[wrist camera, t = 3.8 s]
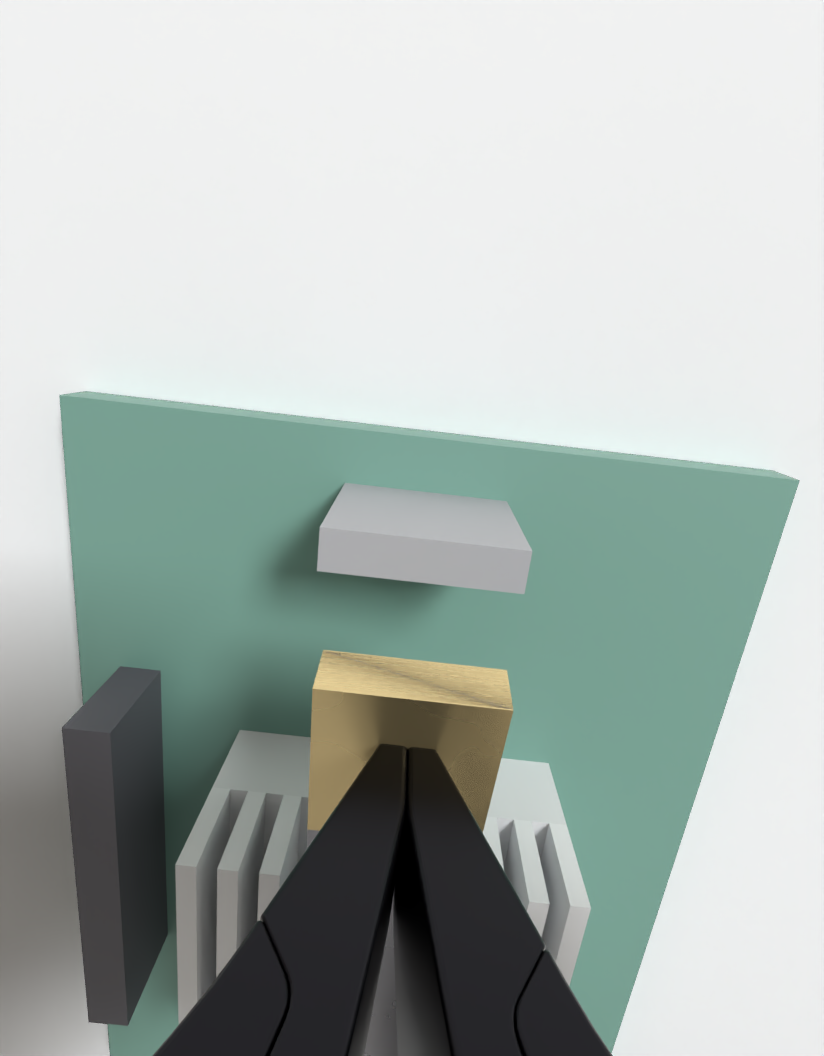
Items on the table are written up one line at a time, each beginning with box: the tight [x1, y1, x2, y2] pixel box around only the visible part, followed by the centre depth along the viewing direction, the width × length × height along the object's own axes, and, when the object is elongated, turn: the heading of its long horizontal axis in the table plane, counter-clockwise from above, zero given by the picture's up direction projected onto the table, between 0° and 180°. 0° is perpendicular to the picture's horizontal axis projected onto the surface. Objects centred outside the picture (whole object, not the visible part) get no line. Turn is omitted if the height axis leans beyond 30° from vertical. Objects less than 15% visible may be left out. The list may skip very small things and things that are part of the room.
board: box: [60, 391, 800, 1056], centre depth 14 cm, size 22×16×5 cm
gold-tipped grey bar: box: [307, 650, 513, 1056], centre depth 12 cm, size 17×3×1 cm, turn 174°
